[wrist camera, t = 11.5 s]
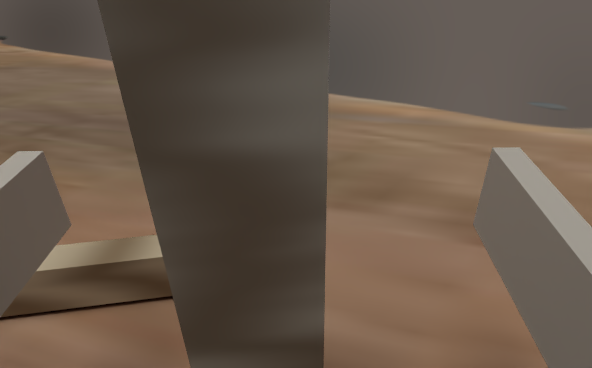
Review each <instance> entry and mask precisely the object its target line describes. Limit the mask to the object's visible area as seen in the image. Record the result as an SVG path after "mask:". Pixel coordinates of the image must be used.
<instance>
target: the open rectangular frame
mask: <svg viewBox="0 0 592 368" xmlns="http://www.w3.org/2000/svg"><path fill="white" fill-rule="evenodd" d="M97 1H98V5H99V9H100V12H101V16H102V20H103V24H104V28H105V32H106V36H107V40H108V44H109V48H110V52H111V56H112V60H113V64H114V68H115V72H116V76H117V80H118V83H119V87H120V91H121V95H122V99H123V103H124V107H125V111H126V115H127V119H128V123H129V127H130V131H131V135H132V138H133V142H134V146H135V150H136V154H137V158H138V162H139V166H140V170H141V174H142V178H143V182H144V186H145V190H146V193H147V197H148V201H149V205H150V209H151V213H152V217H153V221H154V225H155V229H156V233H157V235H151V236H141V237H132V238H123V239H114V240H104V241H95V242H86V243H77V244H67V245H58V246H55V247H54V248H53V250H52V251H51V252H50V254H49V255H48V256H47V257H46V259H45V260H44V261H43V263H42V264H41V265H40V267H39V268H38V269H37V270H36V272H35V273H34V274H33V276H32V277H31V278H30V280H29V281H28V282H27V283H26V285H25V286H24V287H23V289H22V290H21V291H20V293H19V294H18V295H17V296H16V298H15V299H14V300H13V302H12V303H11V304H10V306H9V307H8V308H7V309H6V311H5V312H4V313H3V315H2V316H1V317H6V316H14V315H22V314H30V313H38V312H46V311H54V310H62V309H70V308H78V307H86V306H95V305H103V304H111V303H119V302H127V301H135V300H143V299H151V298H159V297H167V296H173V300H174V303H175V307H176V311H177V315H178V319H179V323H180V327H181V331H182V335H183V339H184V343H185V347H186V351H187V355H188V359H189V362H190V366H191V368H323V359H324V305H325V250H326V196H327V141H328V86H329V85H328V84H329V81H328V80H329V31H330V30H329V29H330V0H97Z"/></svg>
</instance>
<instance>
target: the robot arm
mask: <svg viewBox="0 0 592 368" xmlns="http://www.w3.org/2000/svg"><path fill="white" fill-rule="evenodd" d="M473 225H474V227H475V229H476V231H477V233H478V235H479V237H480V239H481V240H482V242H483V244H484V246H485V248H486V250H487V252H488V254H489V256H490V258H491V259H492V261H493V263H494V265H495V267H496V269H497V271H498V273H499V275H500V277H501V278H502V280H503V282H504V284H505V286H506V288H507V290H508V292H509V294H510V295H511V297H512V299H513V301H514V303H515V305H516V307H517V309H518V311H519V313H520V314H521V316H522V318H523V320H524V322H525V324H526V326H527V328H528V330H529V332H530V333H531V335H532V337H533V339H534V341H535V343H536V345H537V347H538V349H539V350H540V352H541V354H542V356H543V358H544V360H545V362H546V364H547V366H548V368H592V227H591V226H590V225H589V224H588V223H587V222H586V221H585V219H584V218H583V217H582V216H581V215H580V214H579V213H578V212H577V211H576V209H575V208H574V207H573V206H572V205H571V204H570V203H569V202H568V201H567V199H566V198H565V197H564V196H563V195H562V194H561V193H560V192H559V191H558V189H557V188H556V187H555V186H554V185H553V184H552V183H551V182H550V181H549V179H548V178H547V177H546V176H545V175H544V174H543V173H542V172H541V171H540V170H539V168H538V167H537V166H536V165H535V164H534V163H533V162H532V161H531V160H530V158H529V157H528V156H527V155H526V154H525V153H524V152H523V151H522V150H521V148H492V151H491V155H490V159H489V163H488V167H487V171H486V175H485V179H484V183H483V187H482V191H481V195H480V199H479V203H478V207H477V211H476V215H475V219H474V223H473ZM70 226H71V222H70V220H69V217H68V215H67V212H66V209H65V207H64V204H63V202H62V199H61V197H60V194H59V191H58V189H57V186H56V184H55V181H54V178H53V176H52V173H51V171H50V168H49V165H48V163H47V160H46V158H45V155H44V153H43V151H18V152H17V153H15V154H14V155H13V156H12V157H10V158H9V159H8V160H7V161H5V162H4V163H3V164H2V165H0V317H1V316H2V315H3V313H4V312H5V311H6V309H7V308H8V307H9V306H10V304H11V303H12V302H13V300H14V299H15V298H16V296H17V295H18V294H19V293H20V291H21V290H22V289H23V287H24V286H25V285H26V283H27V282H28V281H29V280H30V278H31V277H32V276H33V274H34V273H35V272H36V270H37V269H38V268H39V267H40V265H41V264H42V263H43V261H44V260H45V259H46V257H47V256H48V255H49V254H50V252H51V251H52V250H53V248H54V247H55V246H56V244H57V243H58V242H59V241H60V239H61V238H62V237H63V235H64V234H65V233H66V231H67V230H68V229H69V228H70Z"/></svg>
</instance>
